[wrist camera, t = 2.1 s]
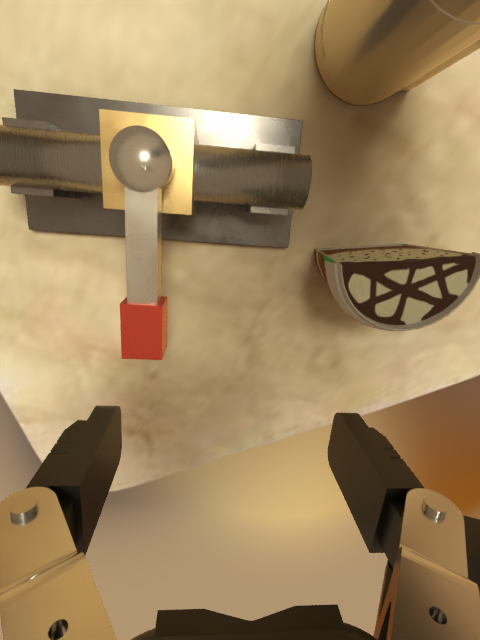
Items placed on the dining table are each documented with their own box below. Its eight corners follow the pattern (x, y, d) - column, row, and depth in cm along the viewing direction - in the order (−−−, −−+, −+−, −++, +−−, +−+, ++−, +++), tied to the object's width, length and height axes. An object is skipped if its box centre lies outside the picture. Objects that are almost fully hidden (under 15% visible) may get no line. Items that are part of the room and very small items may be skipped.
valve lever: (118, 131, 22) (106, 121, 19) (175, 137, 22) (170, 128, 20) (124, 344, 26) (115, 358, 24) (171, 346, 27) (167, 360, 24)
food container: (299, 308, 36) (330, 342, 27) (300, 249, 34) (333, 265, 25) (410, 300, 37) (479, 331, 28) (417, 243, 35) (493, 255, 26)
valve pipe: (300, 123, 31) (334, 90, 22) (285, 246, 34) (310, 259, 26) (20, 93, 28) (-63, 43, 20) (34, 228, 32) (-31, 235, 23)
